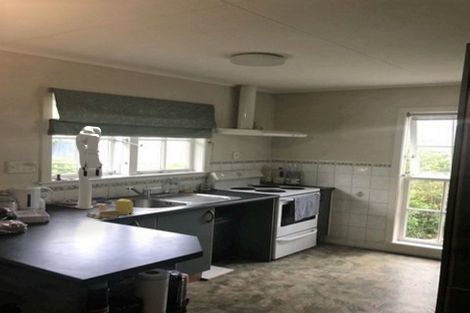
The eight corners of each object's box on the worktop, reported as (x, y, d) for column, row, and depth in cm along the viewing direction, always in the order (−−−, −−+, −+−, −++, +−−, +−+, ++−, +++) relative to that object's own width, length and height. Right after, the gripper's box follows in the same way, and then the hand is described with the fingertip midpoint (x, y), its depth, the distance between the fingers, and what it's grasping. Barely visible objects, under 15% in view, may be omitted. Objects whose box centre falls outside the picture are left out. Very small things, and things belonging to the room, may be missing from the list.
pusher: (98, 217, 312) (98, 210, 311) (112, 216, 320) (112, 209, 320) (99, 217, 311) (99, 211, 311) (113, 216, 319) (113, 209, 319)
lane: (87, 215, 317) (87, 208, 317) (105, 213, 328) (105, 207, 328) (100, 219, 307) (100, 212, 307) (119, 217, 318) (119, 210, 318)
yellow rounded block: (133, 213, 340) (133, 199, 339) (128, 215, 329) (129, 201, 329) (119, 212, 341) (120, 198, 340) (114, 214, 330) (115, 200, 330)
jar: (96, 216, 317) (97, 204, 317) (103, 215, 322) (104, 204, 322) (101, 217, 314) (102, 206, 313) (108, 216, 318) (109, 205, 318)
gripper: (99, 151, 332) (98, 174, 334) (78, 151, 319) (77, 175, 320) (105, 152, 328) (104, 176, 329) (84, 152, 314) (83, 177, 315)
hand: (91, 176), depth 324 cm, fingers open, 9 cm apart
